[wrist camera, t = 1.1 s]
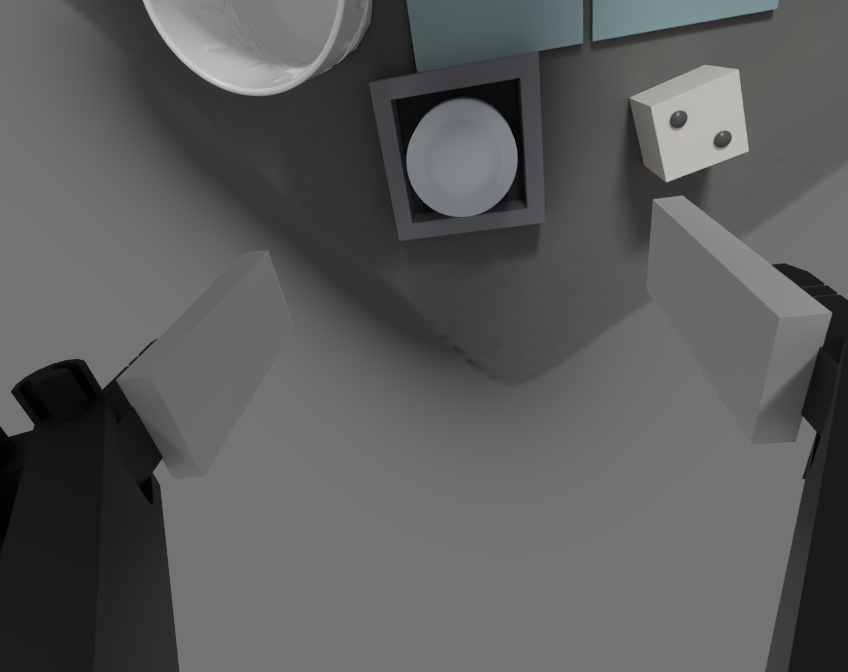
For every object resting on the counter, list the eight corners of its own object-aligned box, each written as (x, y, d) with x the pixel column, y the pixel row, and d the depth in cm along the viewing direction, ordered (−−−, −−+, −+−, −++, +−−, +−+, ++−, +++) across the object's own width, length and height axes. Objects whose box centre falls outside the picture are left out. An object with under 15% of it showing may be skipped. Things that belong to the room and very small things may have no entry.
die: (628, 97, 28) (651, 107, 25) (704, 64, 27) (739, 69, 24) (644, 165, 30) (666, 182, 26) (715, 137, 29) (749, 151, 25)
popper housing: (374, 79, 29) (368, 82, 27) (534, 51, 27) (538, 52, 26) (403, 230, 33) (399, 241, 31) (541, 212, 32) (545, 222, 30)
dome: (403, 105, 29) (392, 117, 25) (509, 87, 28) (516, 96, 24) (420, 207, 32) (413, 233, 28) (516, 194, 31) (523, 219, 27)
